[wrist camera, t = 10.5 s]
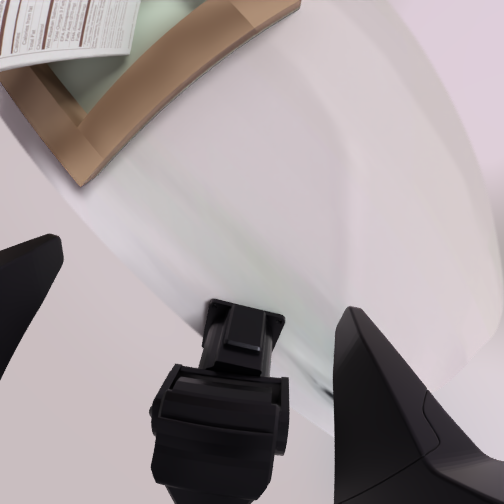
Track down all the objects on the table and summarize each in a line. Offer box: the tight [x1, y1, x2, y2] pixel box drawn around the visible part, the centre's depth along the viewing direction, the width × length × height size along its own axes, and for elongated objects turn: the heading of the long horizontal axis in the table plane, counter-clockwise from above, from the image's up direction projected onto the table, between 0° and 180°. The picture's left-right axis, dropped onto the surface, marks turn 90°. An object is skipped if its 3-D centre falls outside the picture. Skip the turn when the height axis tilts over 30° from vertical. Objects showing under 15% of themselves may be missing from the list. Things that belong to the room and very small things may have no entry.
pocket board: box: [0, 0, 301, 187], centre depth 13 cm, size 18×18×2 cm
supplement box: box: [0, 0, 141, 72], centre depth 8 cm, size 7×7×13 cm
